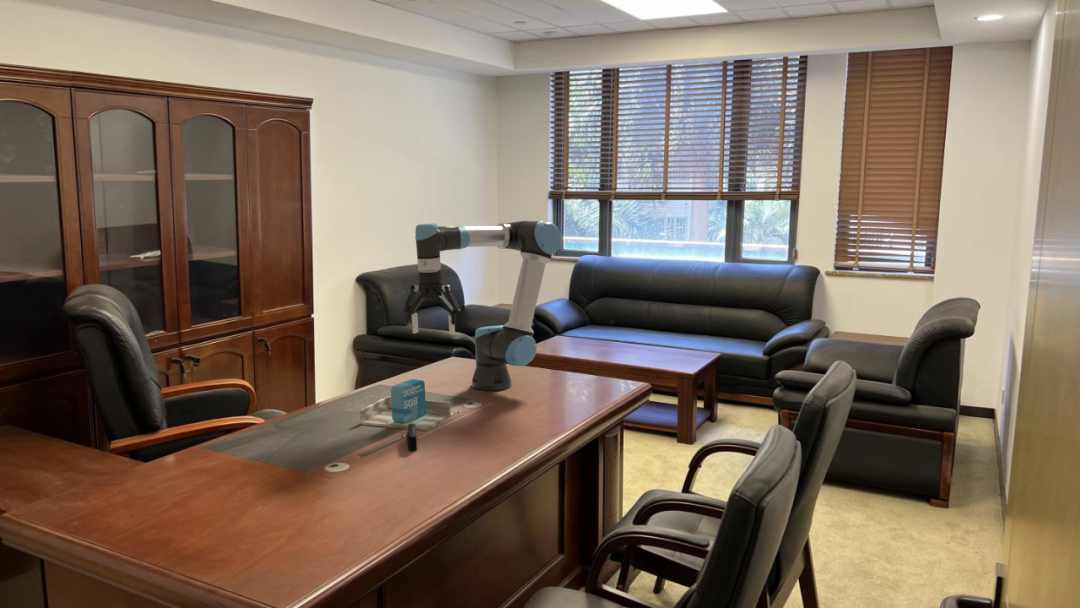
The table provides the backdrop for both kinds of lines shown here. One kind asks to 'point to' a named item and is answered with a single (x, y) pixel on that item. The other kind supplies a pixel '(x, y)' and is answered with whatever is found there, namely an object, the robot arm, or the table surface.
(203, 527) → the table surface
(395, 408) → the data package
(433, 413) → the tray
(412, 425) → the mobile phone
